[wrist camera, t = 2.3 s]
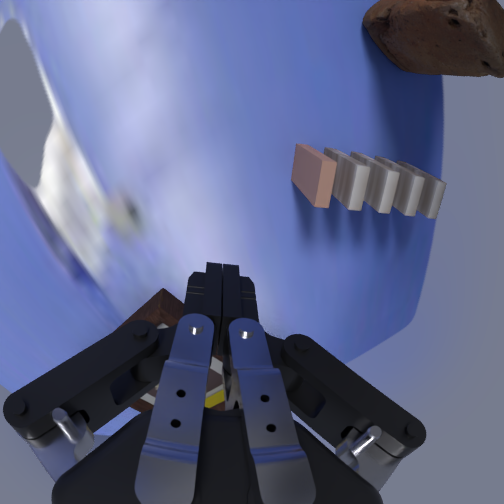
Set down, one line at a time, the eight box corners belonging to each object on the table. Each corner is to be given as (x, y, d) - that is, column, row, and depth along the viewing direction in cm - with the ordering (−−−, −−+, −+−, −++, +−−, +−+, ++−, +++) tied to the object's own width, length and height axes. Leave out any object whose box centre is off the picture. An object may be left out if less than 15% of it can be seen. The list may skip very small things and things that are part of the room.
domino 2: (318, 182, 40) (348, 209, 31) (324, 147, 37) (357, 165, 29) (329, 183, 40) (360, 210, 31) (335, 148, 37) (370, 167, 29)
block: (425, 49, 30) (531, 53, 13) (401, 78, 33) (511, 92, 16) (376, -4, 26) (476, -36, 9) (348, 24, 28) (450, -7, 11)
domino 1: (291, 179, 39) (314, 207, 30) (296, 143, 37) (322, 160, 28) (302, 180, 39) (328, 208, 31) (307, 144, 37) (337, 162, 28)
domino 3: (368, 188, 41) (404, 215, 32) (375, 155, 38) (415, 176, 30) (377, 189, 41) (414, 216, 33) (384, 157, 39) (424, 178, 30)
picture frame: (279, 388, 52) (178, 436, 59) (273, 363, 58) (178, 414, 65) (160, 311, 40) (73, 384, 47) (165, 283, 45) (80, 360, 53)
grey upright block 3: (344, 185, 40) (378, 212, 32) (351, 151, 38) (388, 170, 29) (354, 186, 40) (389, 213, 32) (361, 153, 38) (399, 173, 29)
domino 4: (390, 191, 41) (427, 218, 33) (397, 160, 39) (438, 181, 30) (397, 192, 42) (436, 219, 33) (405, 162, 39) (446, 183, 31)
